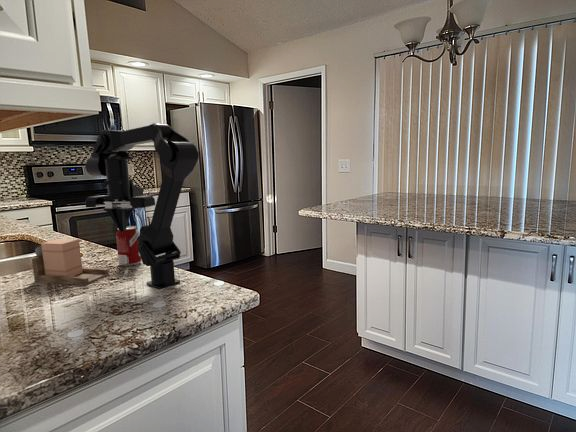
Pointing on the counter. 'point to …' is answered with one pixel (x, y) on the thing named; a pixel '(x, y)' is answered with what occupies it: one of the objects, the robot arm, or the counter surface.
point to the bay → (80, 279)
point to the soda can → (128, 246)
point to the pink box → (62, 257)
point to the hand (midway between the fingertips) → (123, 231)
